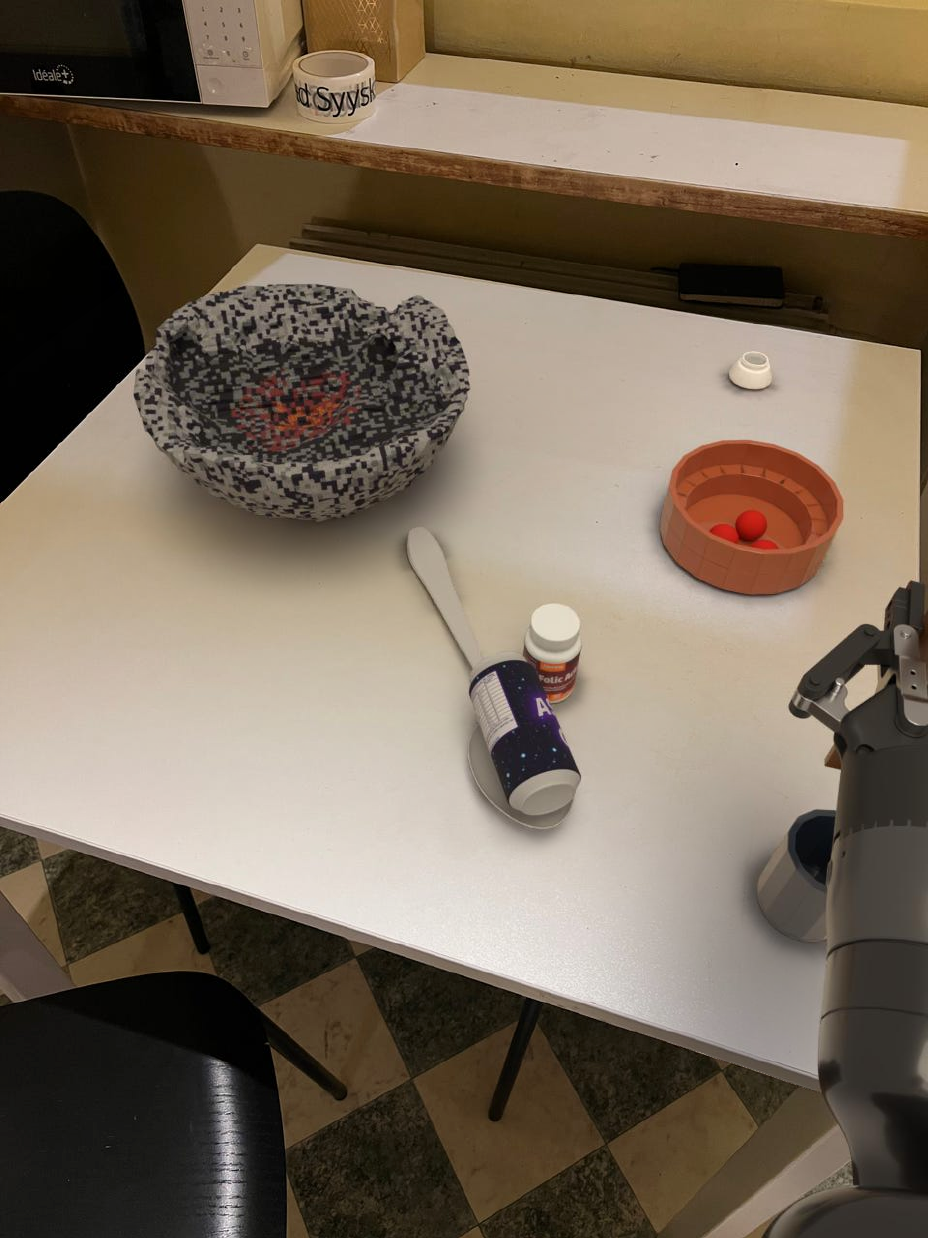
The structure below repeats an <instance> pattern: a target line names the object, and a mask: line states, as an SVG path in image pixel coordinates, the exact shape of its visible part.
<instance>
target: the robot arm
mask: <svg viewBox="0 0 928 1238" xmlns="http://www.w3.org/2000/svg"><path fill="white" fill-rule="evenodd" d="M925 598H926V583H923V582H920V581H915V580H913V579H911V580H909V582H908V583H907V585H906V587H901V586H899V587H898V588H897V589H896V590H895V591H894V593H893V594H892V596H891V598H890V600H889V602H888V603H887V605H886V607H885V608H884V620H883V621H884V622H883V630H881V629H879V628H878V627H877V626H875V625H873V624H870V623H862V624H859V625H858V626H857V627H856V628H855V629H854V630H853V631H852V632H850V633H849V634H848V635H847V636H846V637H845V638H844V639H842V641H840V642H839V643H837V645H836V646H835V647H833V648H832V649H831V650H830V651H828V652H827V654H825V655H824V656H823V657H822V658H821V659H820V660H819V661H817V662H816V663H815V664H814V665H813V666H812V667H811V668H810V669H809V670H807V671H806V672H805V673H804V674H803V675H802V677H801V679H800V681H799V683H798V685H797V687H796V688H795V690H794V693H793V694H792V697H791V698H790V701H789V703H788V706H787V708H788V712H789V713H790V714H791V715H792V716H793V717H795V718H798V719H802V720H805V719H809V718H810V717H811V716H812V717H813V718H814V719H816V720H817V721H818V722H820V723H821V724H823V725H824V726H825V727H827V728H828V729H829V730H831V731H832V732H833V736H832V738H833V739H832V740H833V744H834V745H835V748H836V750H837V752H838V754H839V756H840V759H841V770H840V774H839V781H838V791H837V800H836V809H835V810H836V817H835V826H834V836H833V845H832V854H831V860H830V863H828V869H827V877H826V886H827V898H826V933H827V939H826V958H825V959H826V963H825V970H824V980H823V988H822V990H823V991H822V996H821V997H822V998H821V1005H820V1007H821V1008H820V1017H819V1026H818V1037H817V1039H818V1040H817V1076H818V1083H819V1088H820V1092H821V1095H822V1097H823V1100H824V1101H825V1104H826V1106H827V1108H828V1109H829V1111H830V1113H831V1114H832V1117H833V1118H834V1120H835V1122H836V1123H837V1124H838V1126H839V1129H840V1131H841V1132H842V1134H843V1136H844V1139H845V1141H846V1143H847V1145H848V1151H849V1155H850V1161H851V1172H852V1173H851V1175H852V1185H842V1186H835V1187H829V1188H825V1189H821V1190H818V1191H815V1192H812V1193H809V1194H807V1195H806V1196H803V1197H802V1198H799V1199H798V1200H795V1201H794V1202H793V1203H791V1204H790V1205H788V1206H787V1207H786V1208H784V1209H783V1210H782V1211H781V1212H780V1213H779V1214H777V1216H775V1218H774V1219H773V1220H772V1221H771V1222H770V1224H769V1225H768V1226H767V1227H766V1229H765V1230H764V1232H763V1234H762V1235H761V1237H760V1238H928V684H927V682H926V669H925V661H924V660H922V659H920V649H919V635H920V633H921V632H922V630H923V617H924V615H925V602H926V601H925ZM865 666H876V670H877V672H876V674H877V684H876V688H875V691H874V693H873V695H871V696H870V697H868V698H867V699H865V700H864V701H862V702H861V703H859V704H858V705H857V706H855V707H854V708H852V709H851V710H849V709H848V707H847V706H846V703H845V701H846V698H847V697H848V695H849V691H848V688H847V687H846V685H847V684H848V683H849V681H851V680H852V679H853V678H854V677H855V676H856V675H858V673H859V672H861V670H863V669H864V668H865Z"/></svg>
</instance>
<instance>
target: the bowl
mask: <svg viewBox="0 0 928 1238" xmlns="http://www.w3.org/2000/svg"><path fill="white" fill-rule="evenodd" d="M448 319H449V318H448V317H447V314H446V313H445V310H444V309H442V308H440V307H439V306H437V305H435V303H433V301H430V300H427V299H425V298H424V297H423V295H420V294H419V295H418V294H415V295H413V296H411V297H409V298H408V299H406V300H401V303H399V304H397V307H396V308H394V309H393V310H390V311H389V310H388V309H387V308H386V307H385V306H377V305H375V302H373V301H368V300H366V299H364V298H361V297H359V296H358V295H357V294H356V292H355V291H354V289H352V288H350V287H349V288H348V287H339V286H332V285H326V284H318V283H283V284H282V283H279V284H278V283H276V284H270V283H269V284H268V283H267V285H266V286H262V285H243V286H239V287H234V288H232V289H229V290H227V291H224V292H223V291H218V292H214V293H212V294H208V295H205V296H201V297H200V298H198V299H196V300H192V301H188V302H186V304H185V305H183V306H182V307H180V308H178V309H176V310H174V311H173V313H172V314H171V316H170V317H168V318H167V319H165V321H164V322H163V323H162V324H161V325H160V326H158V327H157V329H156V334H155V340H156V345H155V346H154V347H153V348H152V349H150V351H149V352H148V354H147V355H146V357H145V358H144V366H145V367H144V368H145V369H143V368H136V370H135V378H134V385H133V386H134V388H133V399H134V402H135V405H136V406H137V411H138V414H139V416H140V418H141V420H142V425H143V429H144V432H145V433H148V434H149V436H150V437H151V438H152V440H153V442H154V444H155V446H156V448H157V449H158V451H160V452H161V453H163V454H164V455H165V456H166V457H167V458H168V459H169V460H170V462H172V464H173V465H174V466H175V467H176V468H177V469H178V470H179V471H180V473H182V474H183V475H185V476H187V477H188V478H189V479H190V480H191V481H192V482H193V483H194V484H195V485H197V486H199V487H201V488H202V489H204V490H206V492H208V494H209V495H211V496H213V497H216V498H217V499H218V498H219V499H222V500H224V501H225V502H228V503H229V504H231V505H233V506H235V507H237V508H239V509H242V510H245V511H247V512H251V513H252V514H254V515H257V516H258V515H259V516H265V517H266V518H267V519H268V518H271V519H272V518H278V519H279V518H281V519H290V520H308V521H310V520H311V521H316V522H317V523H320V522H323V521H327V520H330V519H346V518H347V516H348V515H355V514H356V513H357V512H361V511H365V510H366V509H368V508H369V507H372V506H375V505H377V504H379V503H381V502H383V501H385V500H387V499H388V498H390V497H392V496H394V495H396V494H397V493H399V492H402V491H404V490H405V489H406V488H409V487H410V486H411V485H412V483H413V482H414V481H415V480H416V479H417V478H418V477H419V476H420V475H422V474H424V473H425V472H426V469H427V468H428V467H430V466H432V465H433V463H434V460H435V459H436V457H438V456H439V454H440V453H441V452H442V451H443V450H444V449H445V447H446V445H447V442H448V441H449V438H450V436H451V435H452V433H453V432H454V429H455V426H456V424H457V422H458V420H459V419H460V417H461V415H462V413H463V412H464V411H465V404H466V402H467V400H468V398H469V397H468V392H469V391H471V384H470V379H469V377H470V375H471V374H470V368H469V365H468V362H467V359H466V355H465V352H464V348H463V346H462V343H461V341H460V340H459V339H458V338H457V335H456V332H455V329H454V328H453V326H452V325H451V324H450V322H449V320H448Z"/></svg>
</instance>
